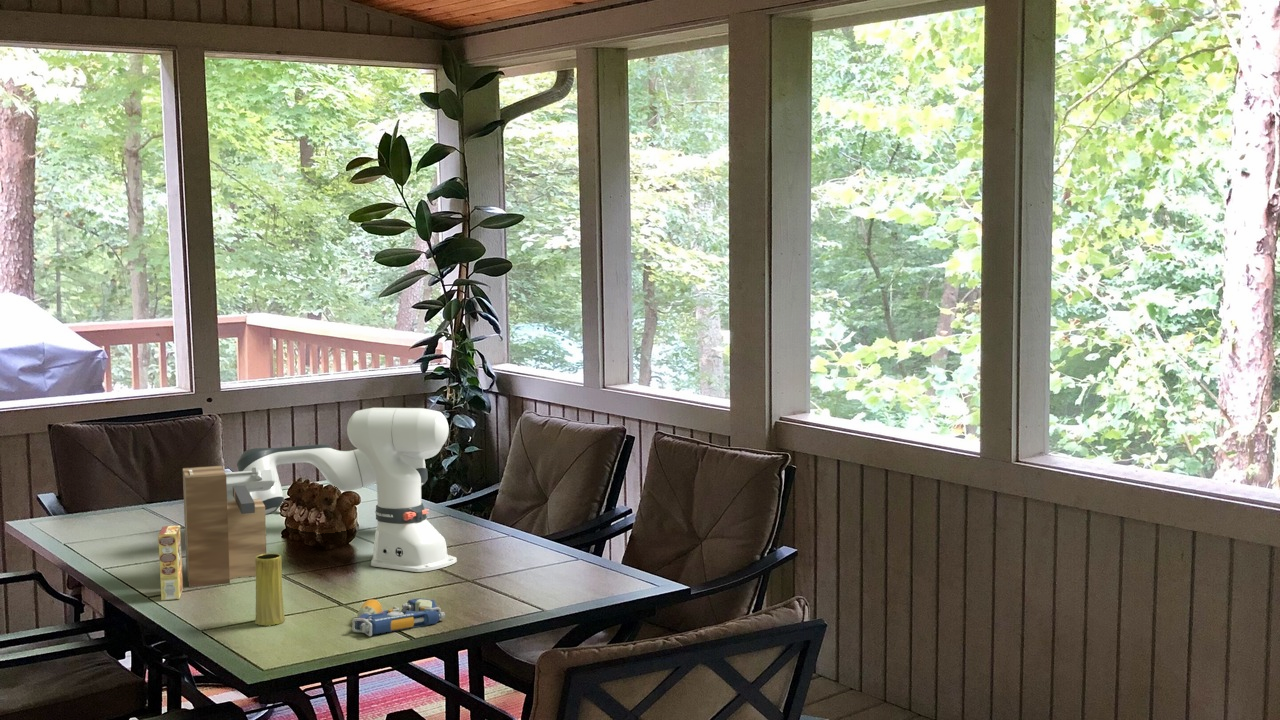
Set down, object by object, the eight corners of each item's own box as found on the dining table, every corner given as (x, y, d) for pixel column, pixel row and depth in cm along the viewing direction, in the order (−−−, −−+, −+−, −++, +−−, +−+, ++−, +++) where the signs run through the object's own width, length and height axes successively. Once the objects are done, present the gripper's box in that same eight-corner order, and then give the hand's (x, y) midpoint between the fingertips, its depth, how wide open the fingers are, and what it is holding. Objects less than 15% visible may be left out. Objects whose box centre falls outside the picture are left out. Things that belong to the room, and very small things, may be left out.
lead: (232, 495, 308) (232, 486, 308) (245, 494, 310) (245, 485, 309) (241, 513, 286) (241, 503, 286) (255, 512, 288) (254, 502, 287)
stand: (186, 572, 299) (182, 467, 296) (262, 565, 306) (259, 461, 303) (189, 587, 286) (185, 476, 283) (269, 578, 293) (265, 471, 291)
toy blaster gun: (333, 622, 259) (362, 642, 247) (333, 603, 258) (362, 621, 246) (422, 608, 271) (454, 625, 259) (422, 589, 271) (454, 606, 259)
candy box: (180, 599, 275) (177, 533, 274) (160, 601, 274) (157, 534, 273) (183, 589, 284) (181, 524, 283) (164, 590, 283) (161, 526, 281)
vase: (288, 617, 262) (286, 552, 260) (280, 626, 256) (278, 559, 254) (259, 617, 261) (257, 552, 260) (251, 626, 255) (249, 559, 254)
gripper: (274, 497, 328) (278, 479, 317) (193, 504, 320) (195, 486, 309) (272, 475, 331) (276, 457, 319) (192, 481, 323) (193, 462, 311)
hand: (236, 471), depth 314 cm, fingers open, 8 cm apart
